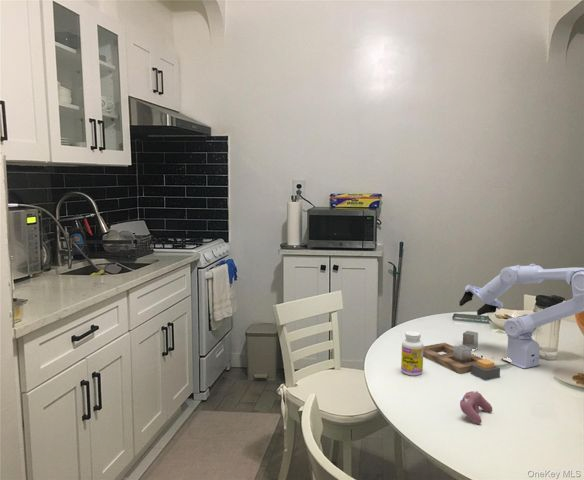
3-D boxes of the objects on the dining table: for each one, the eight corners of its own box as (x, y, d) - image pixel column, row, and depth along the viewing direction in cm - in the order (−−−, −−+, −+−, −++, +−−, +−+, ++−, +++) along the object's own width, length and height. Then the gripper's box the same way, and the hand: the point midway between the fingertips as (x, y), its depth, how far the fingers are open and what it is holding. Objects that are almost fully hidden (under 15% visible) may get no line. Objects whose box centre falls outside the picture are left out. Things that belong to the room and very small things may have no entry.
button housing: (499, 377, 158) (500, 367, 157) (485, 380, 155) (485, 370, 155) (485, 370, 163) (485, 361, 163) (470, 373, 161) (471, 364, 160)
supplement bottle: (398, 374, 161) (399, 334, 159) (404, 367, 167) (405, 329, 165) (419, 377, 158) (420, 337, 156) (424, 370, 164) (425, 331, 162)
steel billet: (477, 348, 184) (478, 332, 183) (473, 351, 181) (474, 335, 180) (466, 346, 187) (467, 330, 186) (462, 349, 184) (463, 333, 183)
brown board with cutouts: (490, 367, 166) (490, 361, 165) (459, 374, 160) (460, 368, 160) (444, 347, 185) (444, 342, 185) (416, 353, 180) (416, 347, 180)
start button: (494, 371, 158) (494, 362, 158) (485, 373, 157) (485, 364, 156) (485, 367, 161) (485, 358, 161) (476, 369, 160) (477, 360, 160)
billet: (471, 366, 167) (471, 348, 167) (461, 367, 166) (462, 350, 165) (462, 362, 171) (462, 344, 170) (453, 363, 169) (453, 346, 169)
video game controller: (478, 413, 137) (468, 388, 138) (494, 410, 134) (483, 384, 135) (465, 427, 129) (454, 400, 130) (481, 424, 126) (470, 397, 128)
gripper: (511, 290, 180) (485, 309, 190) (476, 271, 179) (452, 291, 188) (511, 305, 175) (485, 324, 185) (476, 285, 174) (451, 305, 183)
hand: (469, 308), depth 186 cm, fingers open, 7 cm apart
